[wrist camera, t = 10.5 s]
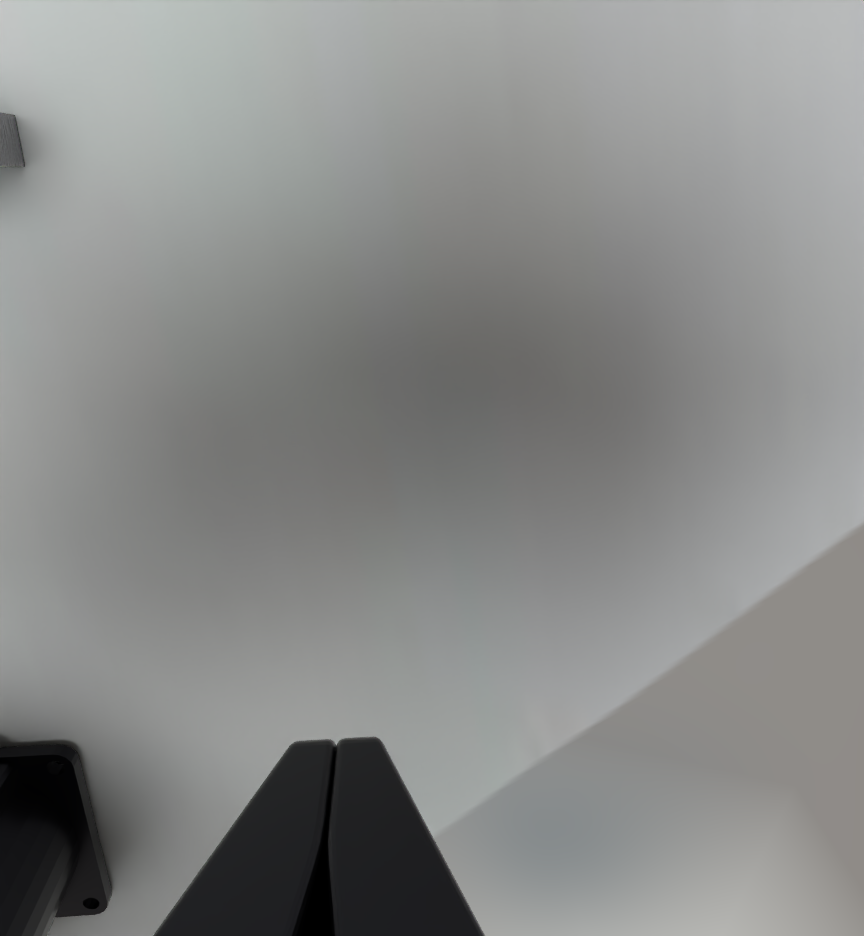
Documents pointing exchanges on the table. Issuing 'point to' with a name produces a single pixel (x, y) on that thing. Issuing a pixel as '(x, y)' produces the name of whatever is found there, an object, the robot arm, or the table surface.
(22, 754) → the robot arm
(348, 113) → the table surface
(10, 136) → the gray rectangular bar
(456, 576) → the table surface
